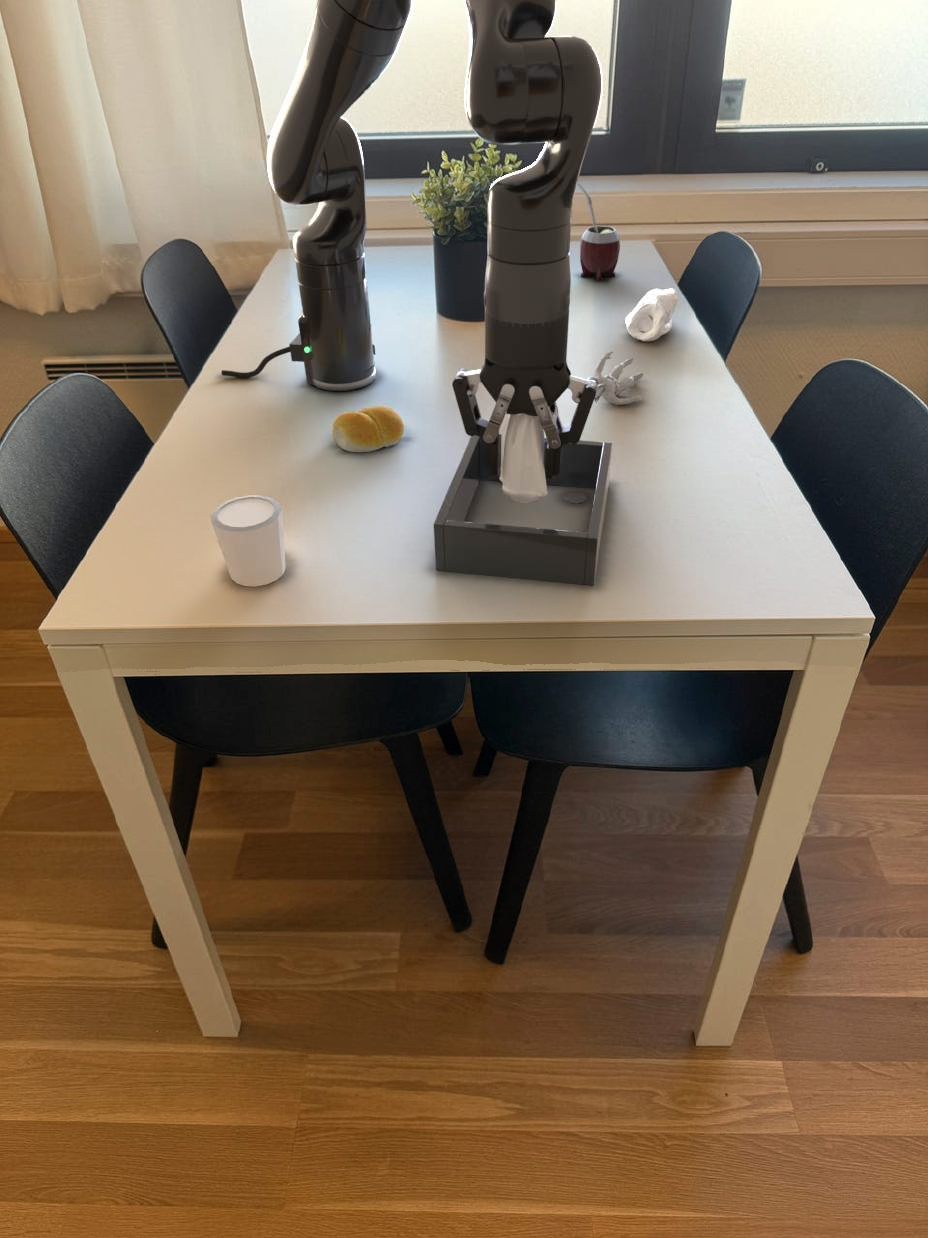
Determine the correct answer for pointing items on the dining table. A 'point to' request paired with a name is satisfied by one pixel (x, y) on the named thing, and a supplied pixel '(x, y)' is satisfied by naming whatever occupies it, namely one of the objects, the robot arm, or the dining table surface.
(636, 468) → the dining table surface
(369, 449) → the bread roll
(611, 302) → the dining table surface
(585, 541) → the grey open box
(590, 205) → the mate gourd
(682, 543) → the dining table surface
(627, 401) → the soldier figure
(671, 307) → the white irregular lump
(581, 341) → the dining table surface
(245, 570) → the white cylinder
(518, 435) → the shaker set
